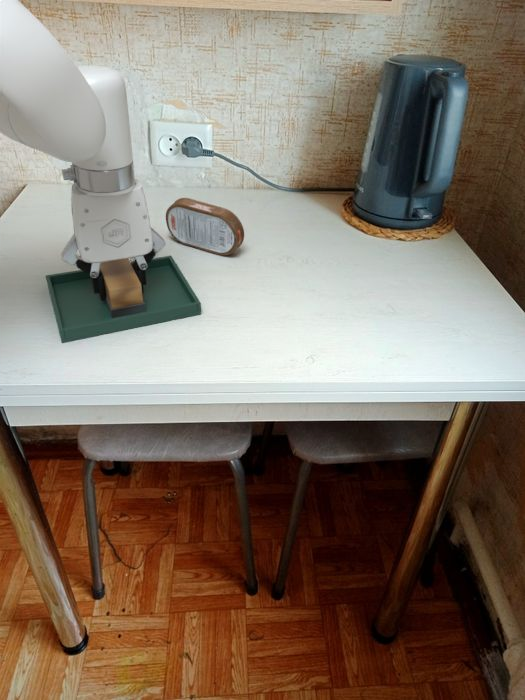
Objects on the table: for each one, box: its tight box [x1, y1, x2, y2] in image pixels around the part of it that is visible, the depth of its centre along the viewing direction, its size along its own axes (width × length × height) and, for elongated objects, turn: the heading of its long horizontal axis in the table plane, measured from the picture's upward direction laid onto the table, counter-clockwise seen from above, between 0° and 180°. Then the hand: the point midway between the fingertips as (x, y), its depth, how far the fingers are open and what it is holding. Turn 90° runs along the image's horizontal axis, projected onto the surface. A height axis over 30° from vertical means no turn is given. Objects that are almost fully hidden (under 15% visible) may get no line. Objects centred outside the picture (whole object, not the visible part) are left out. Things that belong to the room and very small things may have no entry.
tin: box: [165, 197, 245, 256], centre depth 91 cm, size 15×3×8 cm, turn 65°
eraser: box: [100, 258, 146, 318], centre depth 77 cm, size 5×10×5 cm, turn 25°
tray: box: [45, 255, 202, 344], centre depth 78 cm, size 20×15×2 cm
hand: (120, 291), depth 78 cm, fingers closed on eraser, 5 cm apart
